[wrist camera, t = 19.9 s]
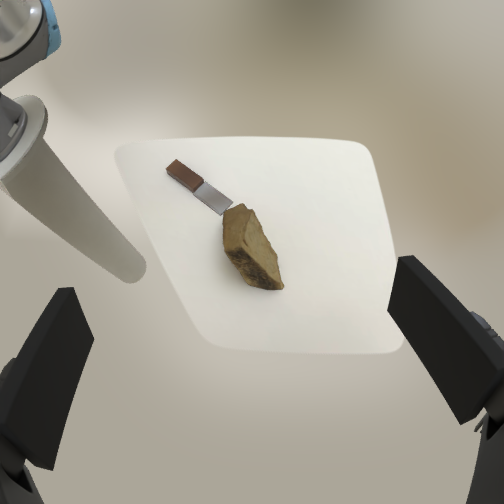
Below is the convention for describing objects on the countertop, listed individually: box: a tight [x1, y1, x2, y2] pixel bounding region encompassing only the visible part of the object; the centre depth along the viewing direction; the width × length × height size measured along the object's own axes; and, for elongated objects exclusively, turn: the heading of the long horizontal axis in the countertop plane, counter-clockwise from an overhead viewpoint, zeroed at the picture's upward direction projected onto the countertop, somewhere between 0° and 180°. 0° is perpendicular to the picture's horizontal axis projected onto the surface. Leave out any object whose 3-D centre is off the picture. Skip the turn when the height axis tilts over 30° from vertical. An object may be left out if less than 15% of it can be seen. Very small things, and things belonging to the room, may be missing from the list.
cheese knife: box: [166, 159, 233, 215], centre depth 40 cm, size 10×2×1 cm, turn 51°
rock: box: [222, 203, 284, 290], centre depth 36 cm, size 11×9×10 cm
